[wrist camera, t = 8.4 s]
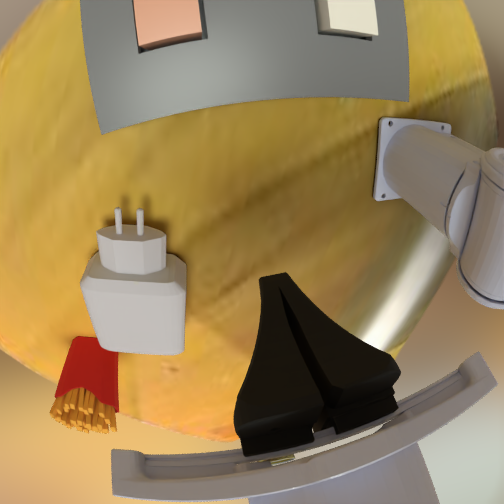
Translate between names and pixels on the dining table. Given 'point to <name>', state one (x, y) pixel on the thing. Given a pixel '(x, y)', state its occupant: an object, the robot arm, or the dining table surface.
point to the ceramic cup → (280, 459)
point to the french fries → (88, 388)
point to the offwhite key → (346, 18)
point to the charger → (136, 290)
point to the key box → (237, 59)
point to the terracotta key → (167, 22)
